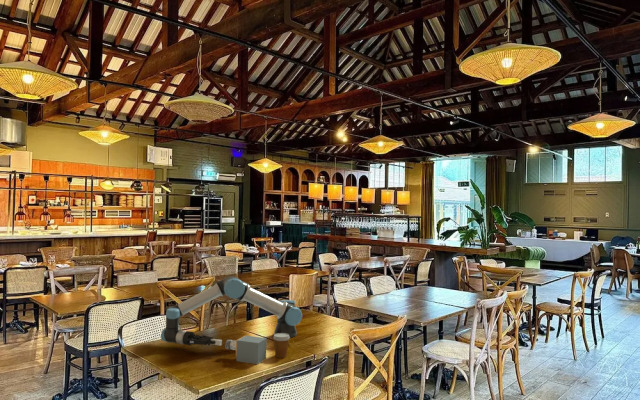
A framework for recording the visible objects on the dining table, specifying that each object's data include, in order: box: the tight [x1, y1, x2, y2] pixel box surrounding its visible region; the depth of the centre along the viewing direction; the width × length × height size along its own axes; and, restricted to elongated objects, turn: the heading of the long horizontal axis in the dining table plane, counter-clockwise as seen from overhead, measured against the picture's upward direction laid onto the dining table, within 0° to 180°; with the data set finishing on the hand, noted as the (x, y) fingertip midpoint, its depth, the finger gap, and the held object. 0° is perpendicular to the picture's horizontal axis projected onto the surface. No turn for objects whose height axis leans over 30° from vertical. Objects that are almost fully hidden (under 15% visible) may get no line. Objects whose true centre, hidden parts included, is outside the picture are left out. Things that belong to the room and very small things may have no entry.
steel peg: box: [224, 339, 236, 351], centre depth 248 cm, size 12×5×5 cm, turn 71°
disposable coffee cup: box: [272, 333, 291, 359], centre depth 253 cm, size 10×10×12 cm
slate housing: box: [235, 335, 268, 365], centre depth 246 cm, size 14×10×11 cm
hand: (221, 342), depth 251 cm, fingers closed
